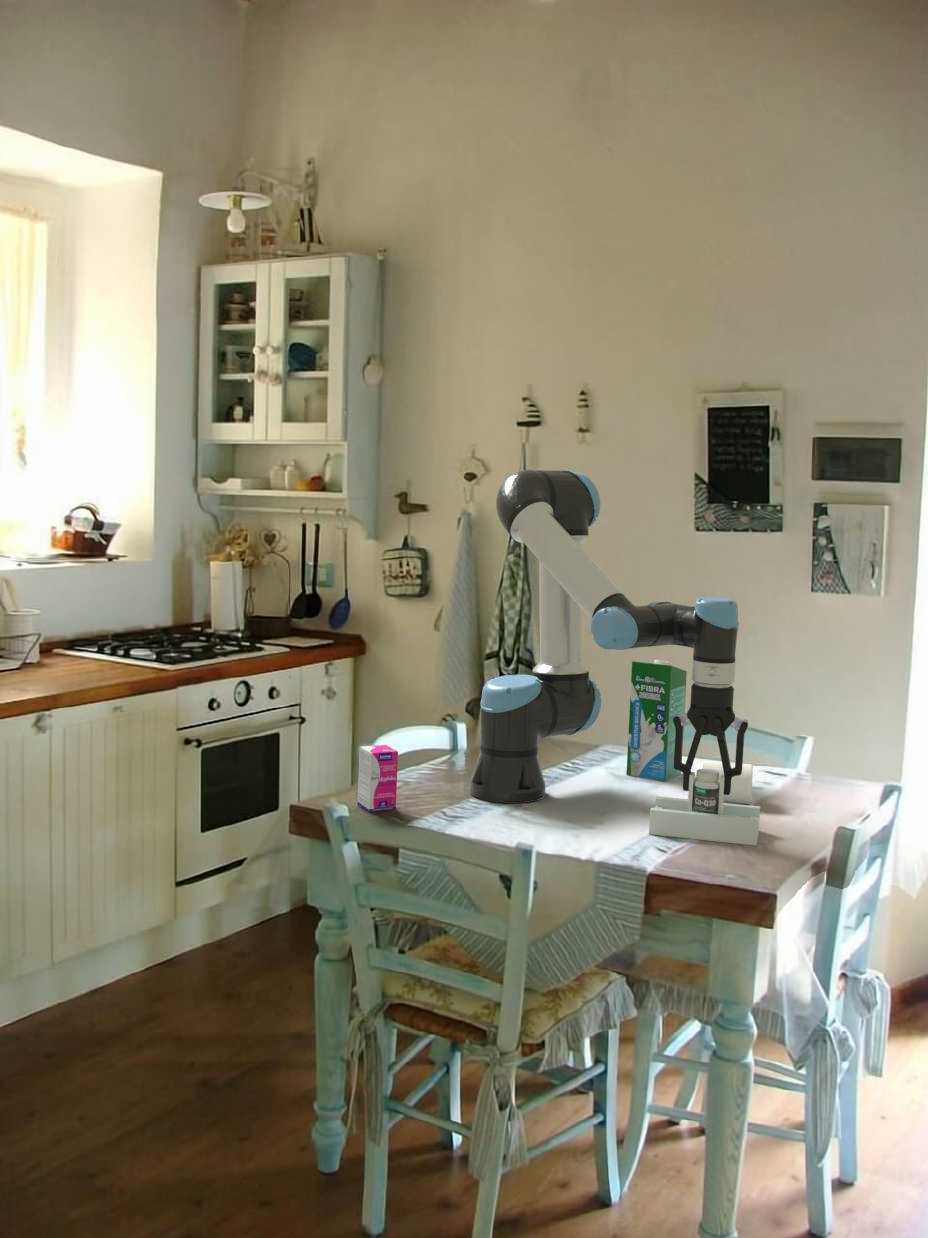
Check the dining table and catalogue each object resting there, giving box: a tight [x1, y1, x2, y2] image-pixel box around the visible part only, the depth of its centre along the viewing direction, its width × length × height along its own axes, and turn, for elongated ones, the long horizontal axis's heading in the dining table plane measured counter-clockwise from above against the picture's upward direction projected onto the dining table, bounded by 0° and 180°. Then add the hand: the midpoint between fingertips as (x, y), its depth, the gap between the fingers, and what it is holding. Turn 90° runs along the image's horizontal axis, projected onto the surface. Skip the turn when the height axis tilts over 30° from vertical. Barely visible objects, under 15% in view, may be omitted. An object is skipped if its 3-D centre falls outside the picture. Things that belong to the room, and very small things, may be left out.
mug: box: [700, 760, 754, 805], centre depth 249 cm, size 12×10×8 cm
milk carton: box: [626, 659, 688, 782], centre depth 267 cm, size 9×9×25 cm
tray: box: [648, 795, 761, 847], centre depth 225 cm, size 19×10×4 cm, turn 75°
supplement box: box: [357, 744, 399, 813], centre depth 235 cm, size 6×6×12 cm
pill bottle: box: [692, 768, 720, 814], centre depth 225 cm, size 5×5×8 cm
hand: (705, 809), depth 225 cm, fingers closed on pill bottle, 5 cm apart
